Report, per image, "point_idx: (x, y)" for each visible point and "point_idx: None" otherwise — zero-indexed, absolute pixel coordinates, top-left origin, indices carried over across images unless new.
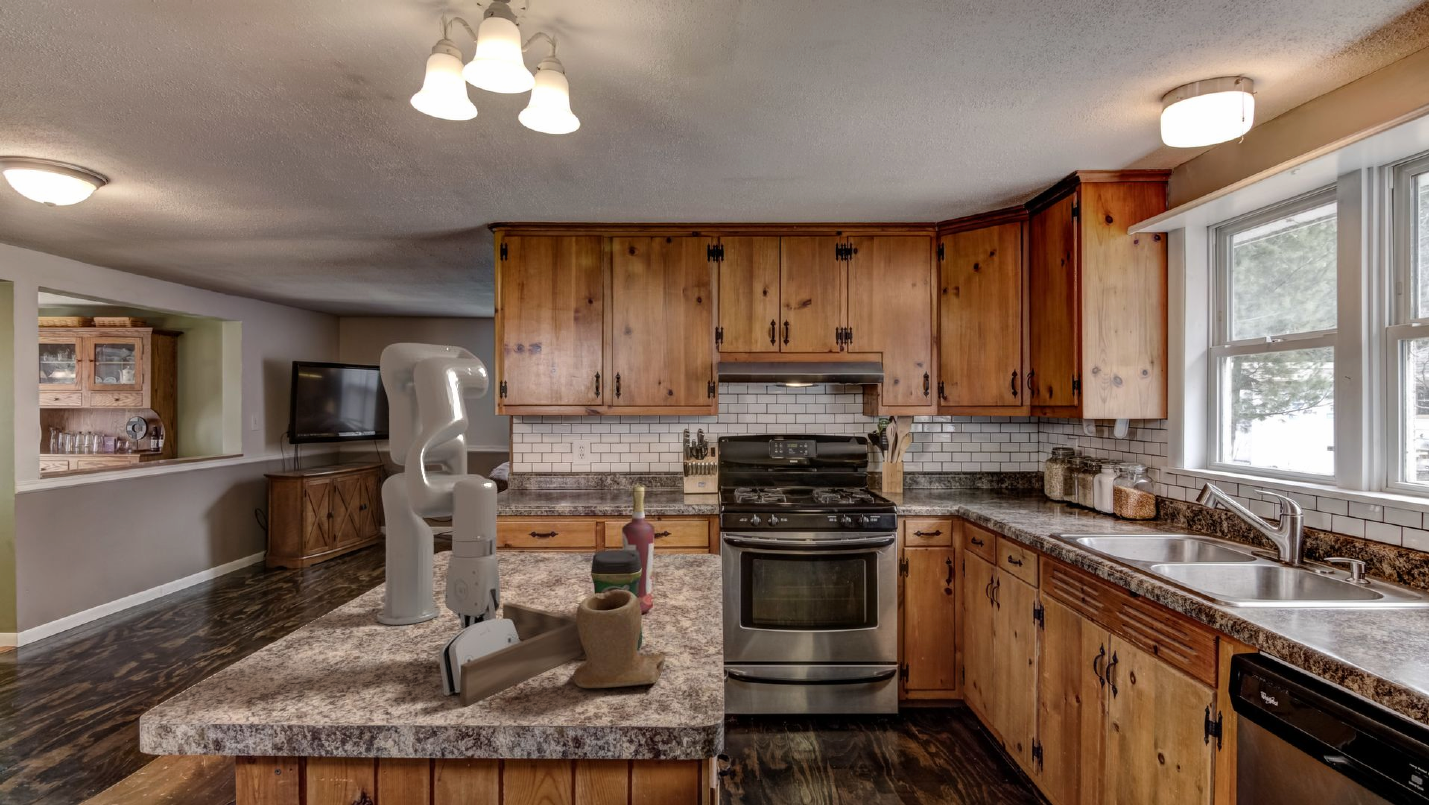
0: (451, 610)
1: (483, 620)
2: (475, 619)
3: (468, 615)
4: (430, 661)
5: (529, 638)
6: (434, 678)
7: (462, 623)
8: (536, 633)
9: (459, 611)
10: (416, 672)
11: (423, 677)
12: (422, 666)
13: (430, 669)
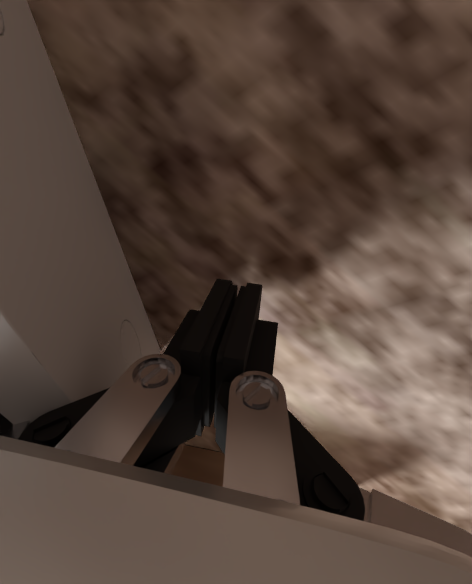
0: (382, 532)
1: (18, 431)
2: (74, 431)
3: (15, 441)
4: (446, 210)
5: (221, 461)
6: (240, 47)
7: (276, 409)
8: (185, 476)
9: (149, 501)
10: (416, 45)
11: (311, 14)
12: (444, 137)
13: (363, 130)
